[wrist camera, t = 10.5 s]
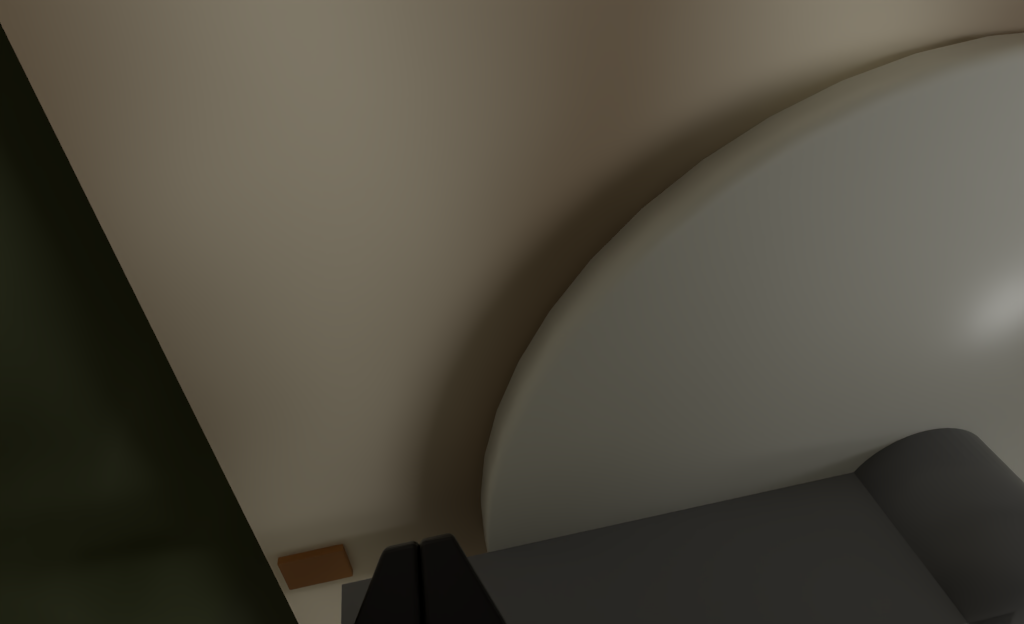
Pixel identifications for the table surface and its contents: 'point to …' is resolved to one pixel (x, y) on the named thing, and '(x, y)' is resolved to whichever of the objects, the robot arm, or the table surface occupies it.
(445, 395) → the dial base
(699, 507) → the dial
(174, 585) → the table surface
